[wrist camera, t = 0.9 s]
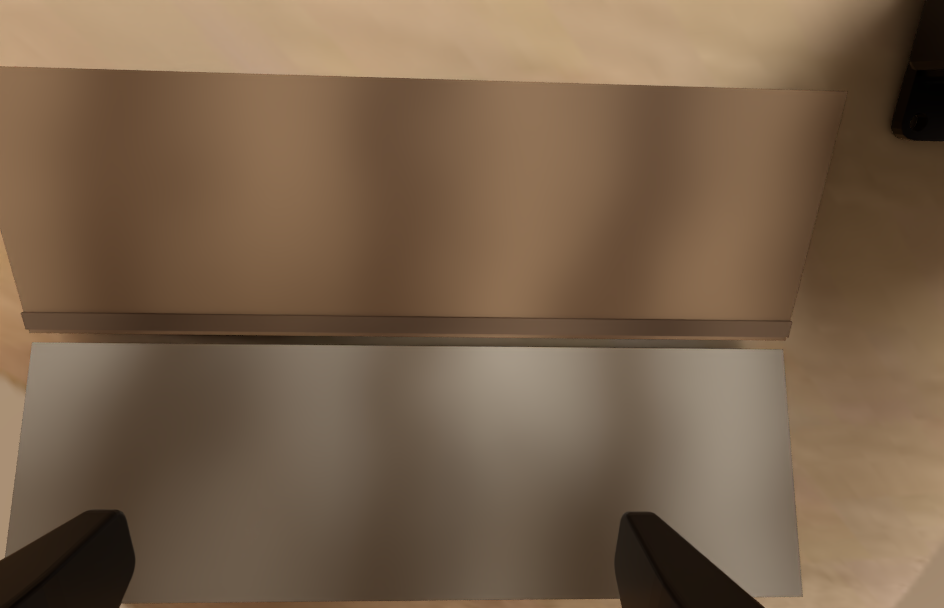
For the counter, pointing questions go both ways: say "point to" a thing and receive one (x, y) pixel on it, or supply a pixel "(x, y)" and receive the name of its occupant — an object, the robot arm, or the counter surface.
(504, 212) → the walnut plank
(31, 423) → the grey plank
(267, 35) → the counter surface
